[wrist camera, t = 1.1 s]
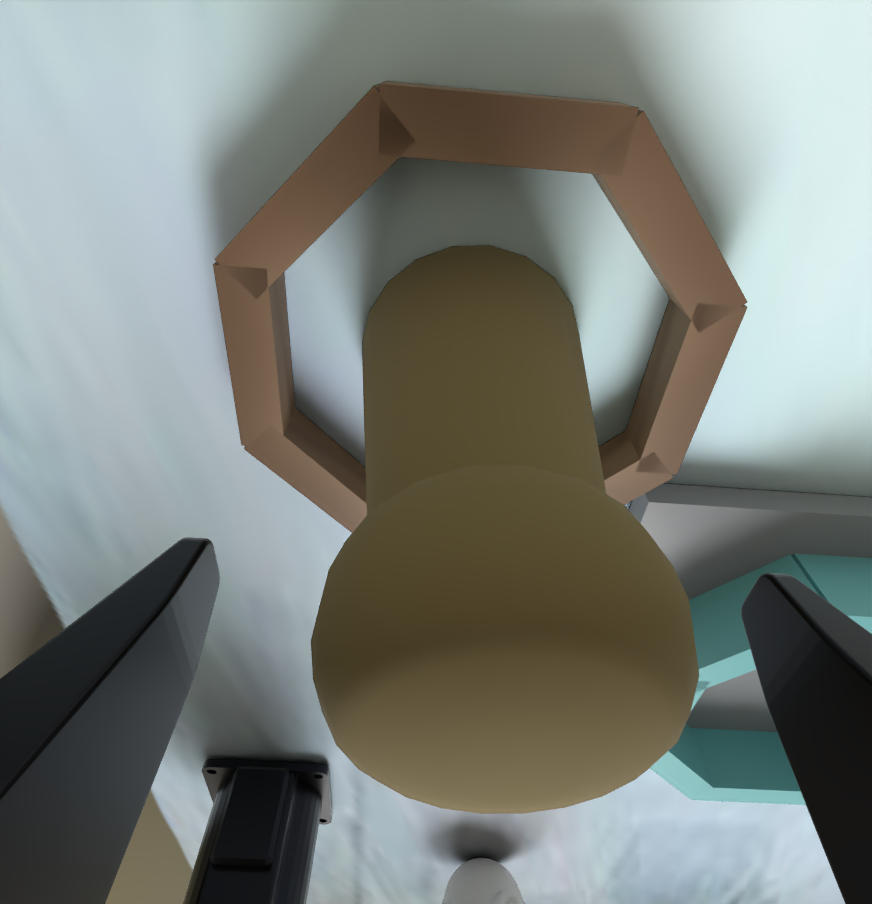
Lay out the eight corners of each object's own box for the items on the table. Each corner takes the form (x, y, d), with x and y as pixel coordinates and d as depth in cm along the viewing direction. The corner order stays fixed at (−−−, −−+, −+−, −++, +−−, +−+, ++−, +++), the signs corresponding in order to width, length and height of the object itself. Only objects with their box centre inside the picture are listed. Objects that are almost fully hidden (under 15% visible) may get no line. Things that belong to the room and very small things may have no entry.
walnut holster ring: (626, 531, 19) (639, 563, 18) (268, 508, 19) (256, 540, 17) (785, 118, 12) (823, 125, 11) (209, 64, 12) (181, 65, 10)
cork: (334, 268, 14) (146, 640, 5) (575, 223, 13) (852, 560, 4) (389, 457, 17) (336, 877, 8) (583, 428, 17) (746, 853, 8)
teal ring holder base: (857, 748, 28) (905, 827, 25) (545, 733, 27) (556, 812, 24) (1105, 513, 19) (1226, 595, 16) (639, 482, 18) (676, 561, 15)
